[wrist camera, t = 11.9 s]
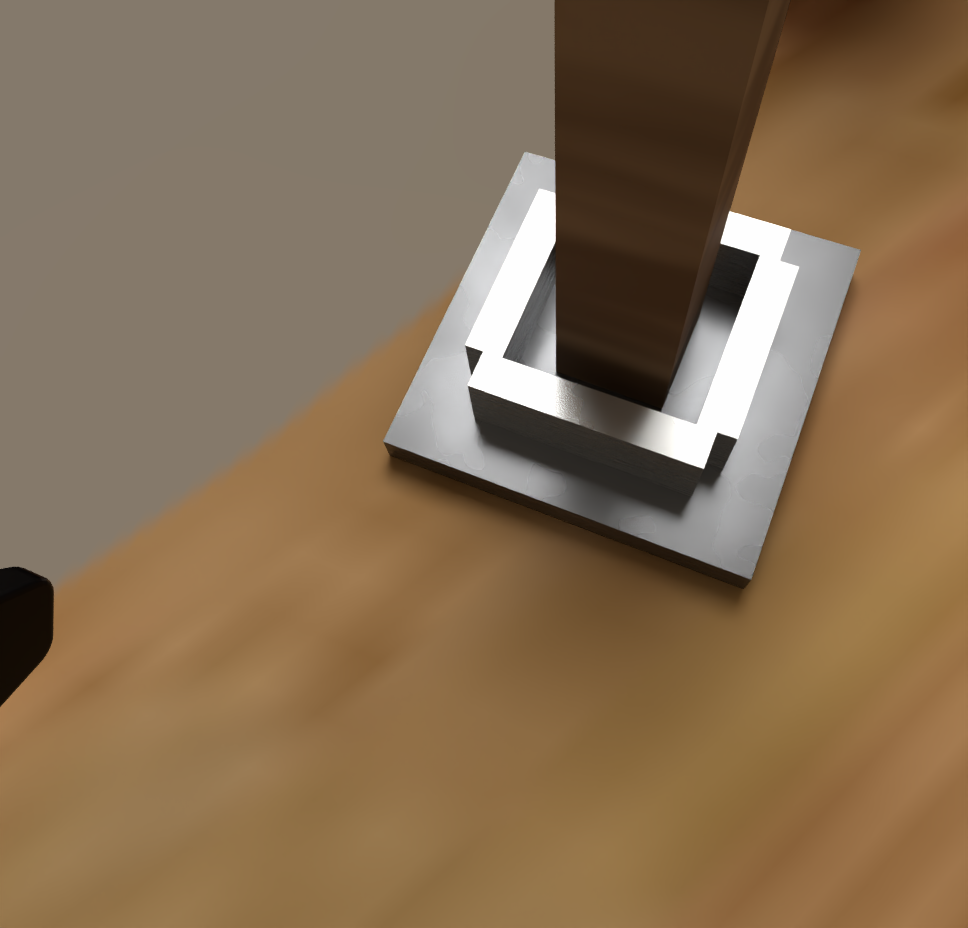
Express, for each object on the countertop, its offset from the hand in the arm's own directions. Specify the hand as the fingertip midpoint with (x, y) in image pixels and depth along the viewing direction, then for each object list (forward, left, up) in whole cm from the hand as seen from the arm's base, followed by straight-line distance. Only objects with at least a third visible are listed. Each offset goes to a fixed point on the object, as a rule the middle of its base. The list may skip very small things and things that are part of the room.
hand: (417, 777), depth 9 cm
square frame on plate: (+9, +8, -14) cm, 18 cm away
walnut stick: (+9, +8, -13) cm, 17 cm away
